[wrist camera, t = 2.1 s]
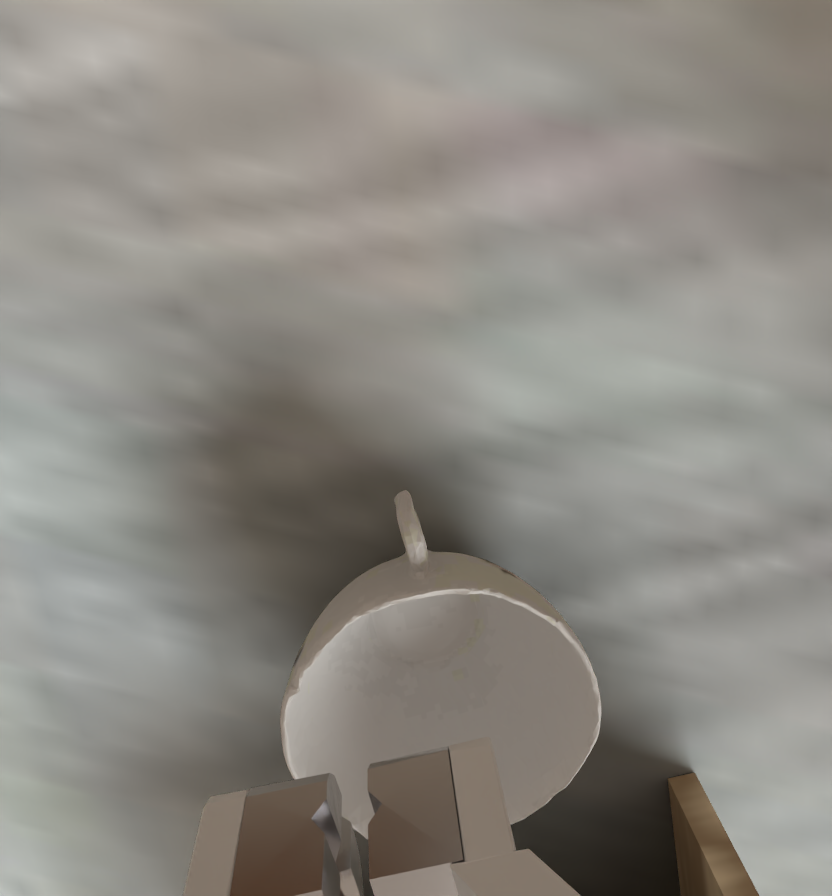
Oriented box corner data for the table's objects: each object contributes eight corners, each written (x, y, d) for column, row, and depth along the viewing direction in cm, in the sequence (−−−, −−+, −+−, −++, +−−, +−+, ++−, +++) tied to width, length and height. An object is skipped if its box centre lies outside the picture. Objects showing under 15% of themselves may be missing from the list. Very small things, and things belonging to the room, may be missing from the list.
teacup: (563, 697, 40) (609, 827, 32) (321, 734, 40) (313, 874, 32) (542, 425, 34) (594, 508, 27) (259, 468, 34) (232, 563, 26)
